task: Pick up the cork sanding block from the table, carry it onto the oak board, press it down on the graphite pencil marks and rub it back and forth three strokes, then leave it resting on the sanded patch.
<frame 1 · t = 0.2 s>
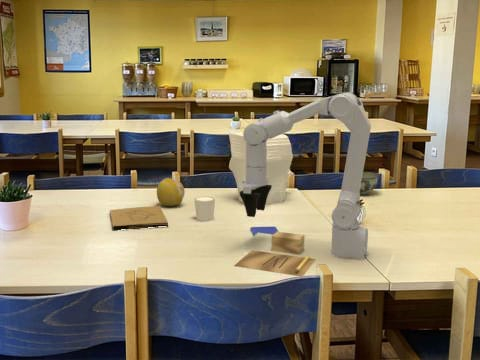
hand: (255, 213, 156), 10 cm above the table, fingers open, 7 cm apart
hard drive: (266, 237, 168), on the table
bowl: (360, 194, 222), on the table
board: (275, 266, 142), on the table
pencil: (303, 264, 140), point 1 cm above the table, touching board
shot glass: (204, 219, 185), on the table
box: (137, 222, 183), on the table
sanding block: (287, 254, 151), on the table
fruit: (171, 206, 202), on the table
paper stack: (266, 201, 209), on the table
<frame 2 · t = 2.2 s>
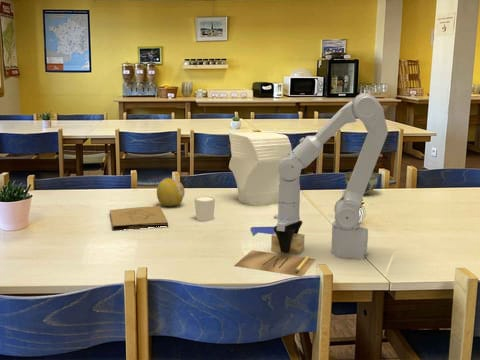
hand: (287, 249, 151), 1 cm above the table, fingers closed on sanding block, 4 cm apart
sanding block: (287, 254, 151), on the table, touching gripper
everything else where it was.
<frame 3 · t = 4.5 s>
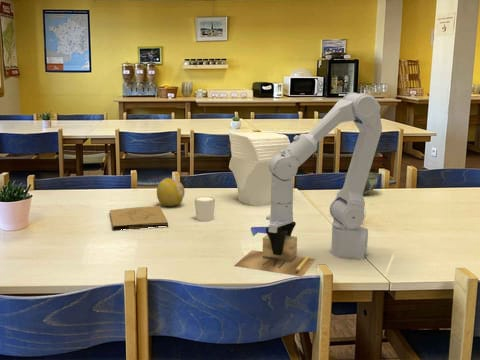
hand: (280, 251, 145), 3 cm above the table, fingers closed on sanding block, 4 cm apart
sanding block: (279, 257, 145), point 1 cm above the table, touching board, gripper
everything else where it was.
when the fingers open (3 cm above the table, at t = 10.0 s): sanding block stays where it is, resting on board.
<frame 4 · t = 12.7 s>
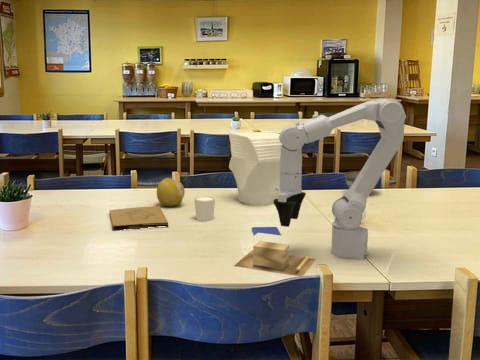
hand: (289, 222, 146), 10 cm above the table, fingers open, 7 cm apart
sanding block: (271, 266, 139), point 1 cm above the table, touching board
everything else where it was.
at the end: sanding block inside the target area on the board (3.0 cm from its centre), point 1.2 cm above the board's base; sanding block touching board; the gripper is holding nothing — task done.
